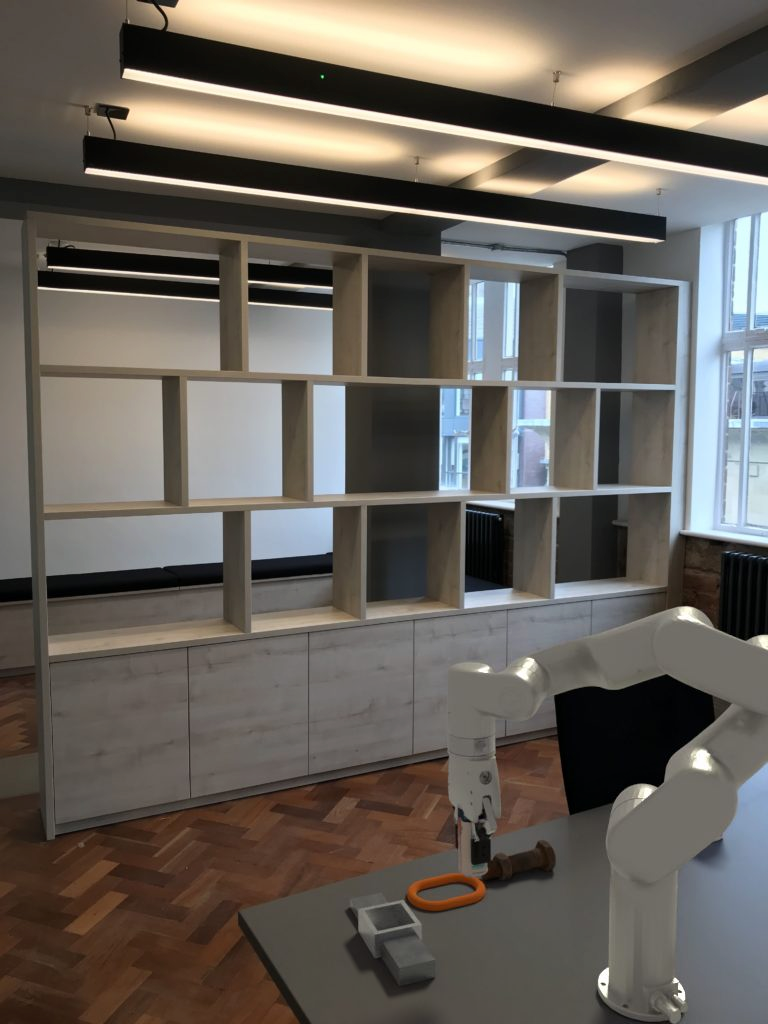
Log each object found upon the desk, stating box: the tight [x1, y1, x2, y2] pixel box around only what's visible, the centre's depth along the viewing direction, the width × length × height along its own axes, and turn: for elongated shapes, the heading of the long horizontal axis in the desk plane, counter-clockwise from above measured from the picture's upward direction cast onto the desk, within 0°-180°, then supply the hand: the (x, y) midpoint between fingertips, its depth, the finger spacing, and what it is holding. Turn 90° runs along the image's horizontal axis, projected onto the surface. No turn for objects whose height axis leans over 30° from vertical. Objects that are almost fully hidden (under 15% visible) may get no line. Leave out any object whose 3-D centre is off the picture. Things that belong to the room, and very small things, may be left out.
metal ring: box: [406, 872, 487, 912], centre depth 158 cm, size 10×2×15 cm
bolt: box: [480, 839, 557, 881], centre depth 165 cm, size 6×5×15 cm
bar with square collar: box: [349, 892, 436, 987], centre depth 143 cm, size 24×8×4 cm, turn 20°
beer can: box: [457, 804, 488, 878], centre depth 136 cm, size 5×5×12 cm
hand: (472, 854), depth 136 cm, fingers closed on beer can, 4 cm apart
